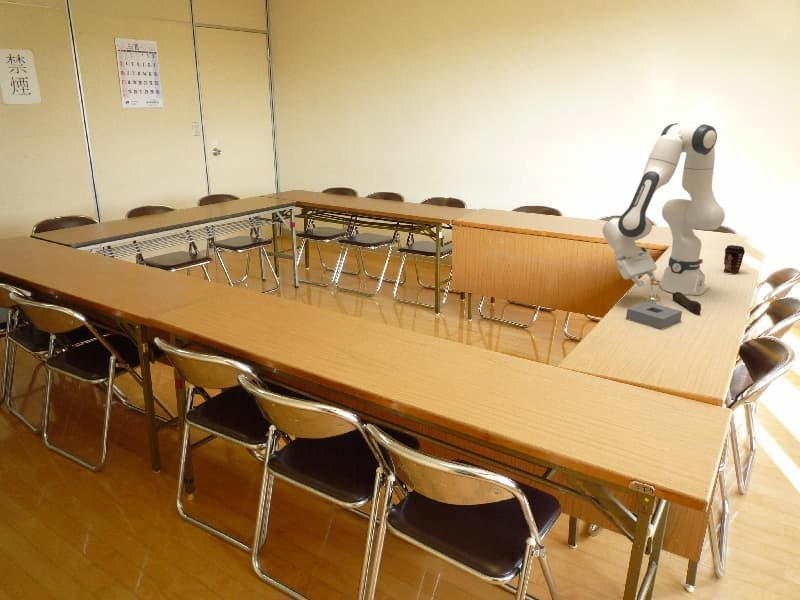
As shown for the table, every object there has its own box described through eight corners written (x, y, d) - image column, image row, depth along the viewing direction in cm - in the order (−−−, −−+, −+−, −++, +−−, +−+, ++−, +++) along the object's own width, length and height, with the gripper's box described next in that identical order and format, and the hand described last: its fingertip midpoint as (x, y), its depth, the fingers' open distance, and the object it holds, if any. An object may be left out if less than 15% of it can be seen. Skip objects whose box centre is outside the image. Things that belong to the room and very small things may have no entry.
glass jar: (648, 304, 237) (652, 278, 234) (661, 308, 233) (666, 281, 230) (641, 307, 234) (645, 280, 231) (654, 310, 230) (658, 284, 227)
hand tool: (671, 300, 243) (672, 289, 242) (680, 300, 243) (682, 290, 242) (691, 316, 225) (693, 305, 224) (702, 316, 225) (704, 305, 224)
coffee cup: (725, 269, 290) (730, 243, 286) (743, 273, 284) (748, 247, 280) (717, 272, 284) (722, 246, 280) (735, 276, 278) (741, 249, 274)
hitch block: (645, 311, 229) (647, 301, 228) (680, 321, 219) (682, 311, 218) (625, 318, 221) (627, 308, 220) (661, 329, 211) (662, 319, 210)
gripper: (620, 254, 228) (640, 284, 224) (648, 247, 240) (667, 275, 236) (609, 263, 233) (627, 292, 229) (636, 255, 245) (655, 283, 241)
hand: (648, 283), depth 233 cm, fingers open, 8 cm apart
